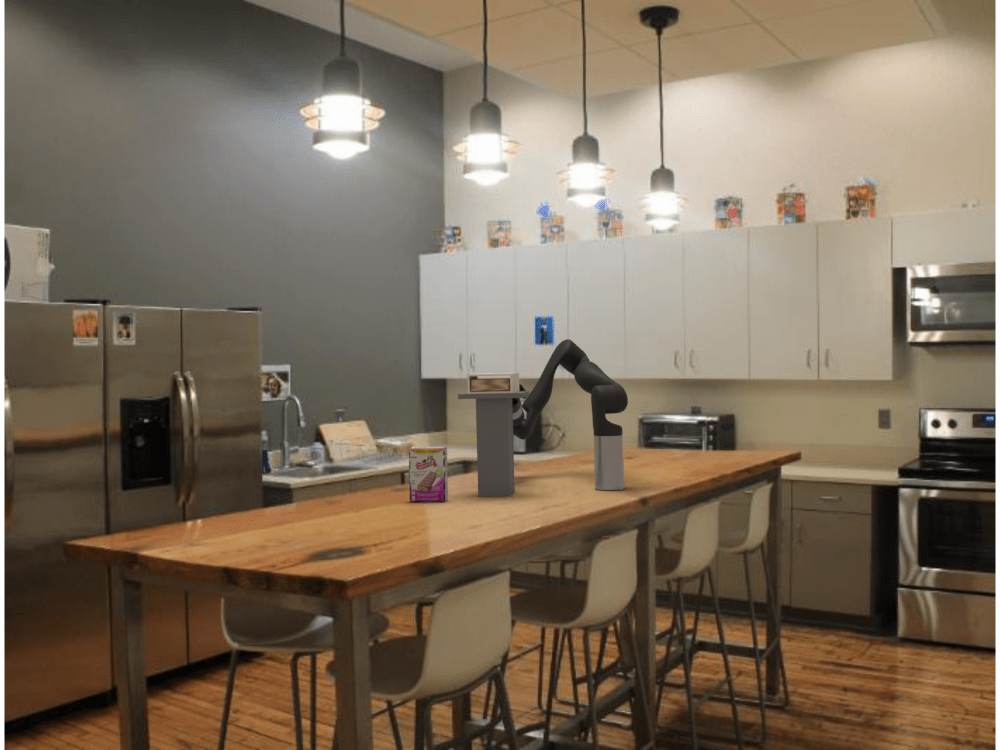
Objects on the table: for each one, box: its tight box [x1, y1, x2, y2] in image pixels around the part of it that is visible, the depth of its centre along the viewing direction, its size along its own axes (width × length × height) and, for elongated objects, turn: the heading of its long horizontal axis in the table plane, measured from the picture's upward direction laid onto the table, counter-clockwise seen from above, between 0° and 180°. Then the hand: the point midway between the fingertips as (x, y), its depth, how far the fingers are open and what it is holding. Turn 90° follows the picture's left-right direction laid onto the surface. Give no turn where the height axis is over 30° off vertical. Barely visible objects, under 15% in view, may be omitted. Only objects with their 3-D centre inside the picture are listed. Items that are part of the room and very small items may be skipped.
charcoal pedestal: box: [457, 390, 530, 498], centre depth 308 cm, size 20×13×32 cm, turn 79°
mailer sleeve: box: [466, 372, 520, 394], centre depth 308 cm, size 14×12×6 cm
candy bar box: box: [408, 446, 449, 503], centre depth 298 cm, size 11×5×16 cm, turn 84°
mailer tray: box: [471, 377, 510, 391], centre depth 313 cm, size 12×22×3 cm, turn 169°
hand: (501, 381), depth 319 cm, fingers open, 5 cm apart
